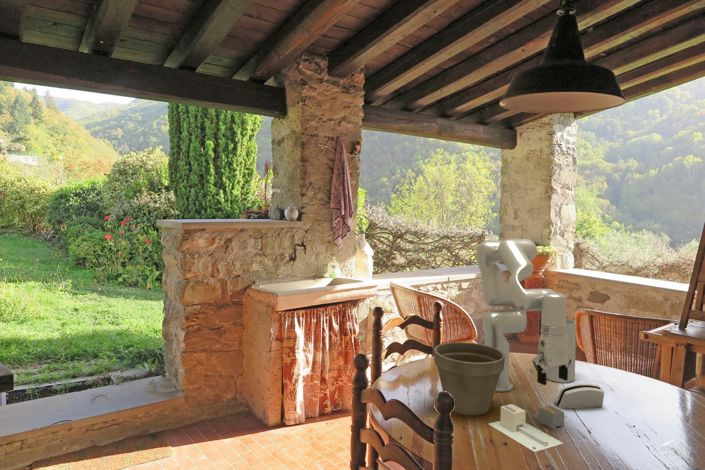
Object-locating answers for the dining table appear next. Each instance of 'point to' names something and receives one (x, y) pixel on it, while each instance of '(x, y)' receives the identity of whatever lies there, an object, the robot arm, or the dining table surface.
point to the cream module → (512, 417)
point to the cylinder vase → (571, 333)
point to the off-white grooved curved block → (580, 396)
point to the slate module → (551, 417)
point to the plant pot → (469, 374)
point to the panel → (528, 436)
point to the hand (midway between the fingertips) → (552, 381)
